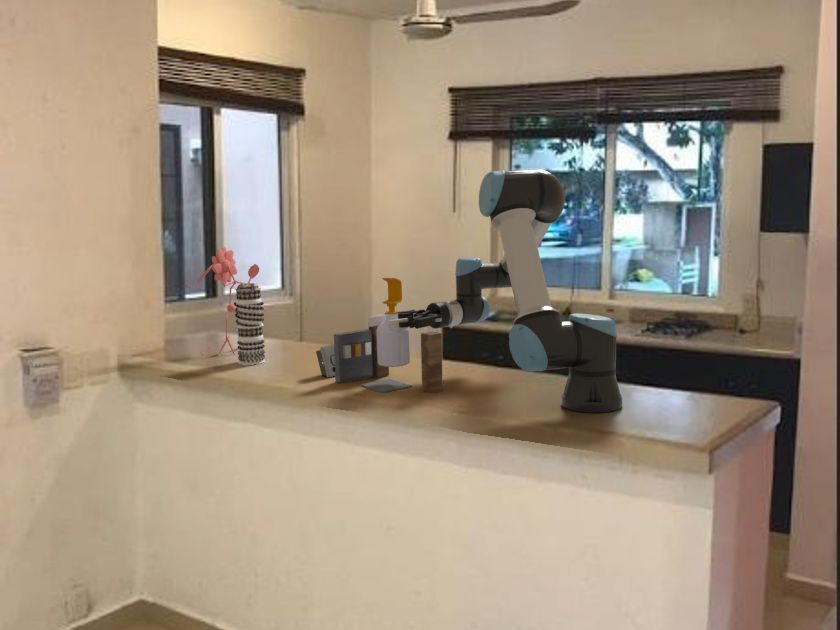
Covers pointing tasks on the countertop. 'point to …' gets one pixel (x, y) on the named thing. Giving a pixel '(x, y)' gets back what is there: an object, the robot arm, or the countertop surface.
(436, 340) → the gate
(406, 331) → the soap bottle
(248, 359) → the decorative candle
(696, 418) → the countertop surface
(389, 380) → the pad
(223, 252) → the figurine
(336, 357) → the breaker panel
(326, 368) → the electrical switch
